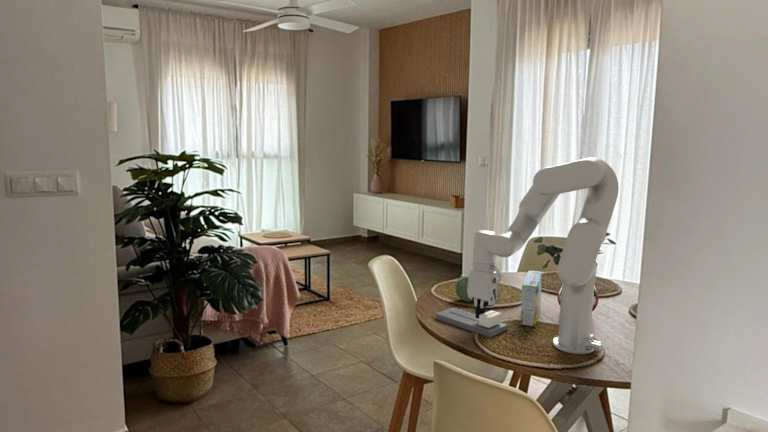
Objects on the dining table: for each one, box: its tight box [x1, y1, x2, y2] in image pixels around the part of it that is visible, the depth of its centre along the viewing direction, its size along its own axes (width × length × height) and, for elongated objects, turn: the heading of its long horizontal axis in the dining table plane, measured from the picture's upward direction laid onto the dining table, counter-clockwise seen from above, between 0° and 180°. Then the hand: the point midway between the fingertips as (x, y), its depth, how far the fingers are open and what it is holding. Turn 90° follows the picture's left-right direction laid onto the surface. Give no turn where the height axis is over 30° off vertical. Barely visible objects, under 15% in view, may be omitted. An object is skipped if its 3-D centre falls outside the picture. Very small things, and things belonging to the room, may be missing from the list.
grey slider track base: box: [435, 307, 509, 338], centre depth 184 cm, size 24×10×2 cm, turn 43°
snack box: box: [520, 270, 543, 328], centre depth 191 cm, size 21×6×15 cm, turn 159°
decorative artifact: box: [454, 275, 473, 302], centre depth 208 cm, size 10×7×10 cm
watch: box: [494, 267, 503, 285], centre depth 222 cm, size 6×8×11 cm
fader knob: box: [479, 310, 502, 328], centre depth 177 cm, size 4×7×4 cm, turn 133°
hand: (480, 317), depth 180 cm, fingers closed
